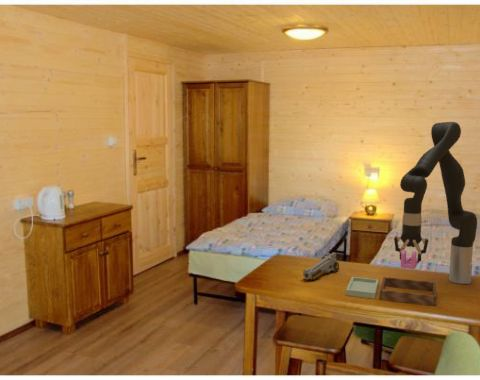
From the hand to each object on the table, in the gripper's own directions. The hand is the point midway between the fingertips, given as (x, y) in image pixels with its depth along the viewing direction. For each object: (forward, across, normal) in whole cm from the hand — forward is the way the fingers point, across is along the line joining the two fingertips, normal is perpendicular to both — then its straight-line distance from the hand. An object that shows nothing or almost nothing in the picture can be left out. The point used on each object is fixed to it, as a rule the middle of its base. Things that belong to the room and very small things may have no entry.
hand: (410, 261), depth 218 cm
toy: (+15, +40, -14) cm, 45 cm away
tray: (+15, +19, 0) cm, 24 cm away
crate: (+15, 0, 0) cm, 15 cm away
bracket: (+1, 0, 0) cm, 1 cm away
